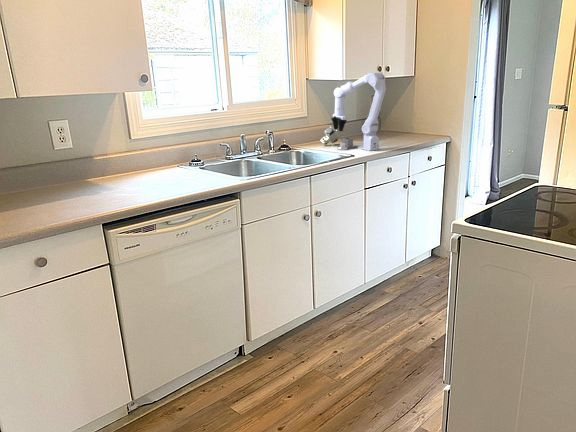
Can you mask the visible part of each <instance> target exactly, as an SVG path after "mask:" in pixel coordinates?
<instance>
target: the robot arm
mask: <svg viewBox="0 0 576 432" xmlns="http://www.w3.org/2000/svg"><path fill="white" fill-rule="evenodd" d="M364 84H369V85H370V86H371V87H373V89H374V91H375V92H374V95H373V97H372V98H373V99H372V102H371V106H370V109H369V113H368V116H367V119H365V120H364V124H363V125H362V126H361V131H362V133H363V147H361V148H360V149H361V150H363V151H368V152H369V151H371V152H372V151H379V150H381V149H380V148H379V147H380V138H379V137H378V136H377V132H378V131H379V120H378V118H379V115H380V111H381V108H382V104H383V100H384V97H385V93H386V90H387V87H386V77H385V75H384V73H383V72H370V73H367V74H365V75H363V76H362V77H360V78H358V79H357V80H356V81H347V82H346V83H344V85H343V84H342V85H340V87H336V88H335V89H334V90H333V96H334V113H332V117H331V118H330V120H331V121H332V125H333V126H332V127H333V128H334V129H335V130H338V132H343V130H344V128H345V124H346V122H347V121H348V120H347V119H346V116H345V99H346V96H347V95H349V94H351V93H352V92H353V93H354V92H355V90H356V89H357V88H358V87H360V86H361V85H364Z"/></svg>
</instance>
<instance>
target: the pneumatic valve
mask: <svg viewBox="0 0 576 432" xmlns="http://www.w3.org/2000/svg"><path fill="white" fill-rule="evenodd" d="M323 133H324V135H325V136H323V137H322V138H321V139H320V142H321V143H322V144H323V145H324V146H327V145H328V144H329V143H332V144H335V143H336V142H337V141H338V140H339V139H340V137H341V136H340V135H339V133H338V129H334V126H332V125H330V126H329V127H327V128H326V129H325V130H324V132H323Z"/></svg>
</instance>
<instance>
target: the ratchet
mask: <svg viewBox="0 0 576 432" xmlns="http://www.w3.org/2000/svg"><path fill="white" fill-rule="evenodd" d="M354 149H358V145H355V144H353V145H352V146H345V143H342V142H339V146H337V151H347V150H354Z"/></svg>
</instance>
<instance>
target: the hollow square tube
mask: <svg viewBox="0 0 576 432" xmlns="http://www.w3.org/2000/svg"><path fill="white" fill-rule="evenodd" d="M341 143H345V146H352V145H354V138H353V137H352V138H351V137H344V138H341Z"/></svg>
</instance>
